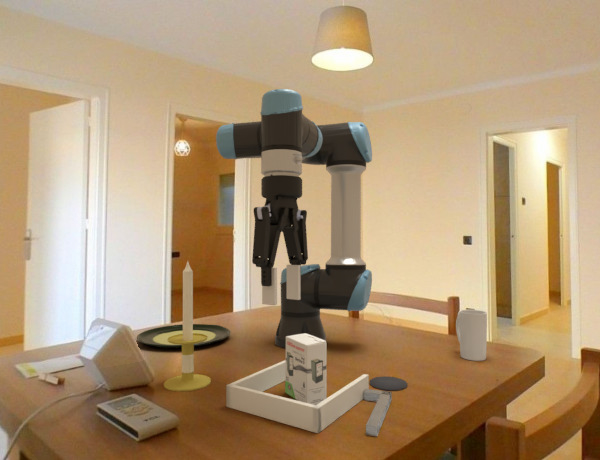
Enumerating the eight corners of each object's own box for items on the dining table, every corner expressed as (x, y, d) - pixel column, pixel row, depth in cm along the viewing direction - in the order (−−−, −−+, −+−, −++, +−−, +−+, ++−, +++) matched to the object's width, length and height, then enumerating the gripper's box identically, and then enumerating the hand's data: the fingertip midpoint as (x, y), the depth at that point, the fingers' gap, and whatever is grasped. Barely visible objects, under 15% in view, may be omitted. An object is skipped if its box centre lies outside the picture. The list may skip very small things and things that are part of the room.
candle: (188, 372, 100) (188, 257, 100) (220, 380, 95) (220, 258, 95) (153, 385, 92) (153, 259, 92) (187, 394, 86) (187, 261, 87)
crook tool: (346, 433, 70) (346, 422, 70) (366, 397, 85) (366, 388, 85) (377, 437, 68) (377, 426, 68) (391, 401, 83) (391, 391, 83)
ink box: (284, 393, 87) (284, 335, 87) (304, 388, 90) (304, 332, 90) (306, 407, 80) (306, 344, 80) (328, 402, 83) (328, 340, 83)
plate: (181, 327, 150) (181, 320, 150) (248, 336, 138) (248, 328, 138) (115, 346, 125) (115, 337, 125) (189, 359, 113) (189, 349, 113)
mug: (493, 360, 110) (492, 313, 110) (471, 362, 108) (470, 314, 108) (467, 350, 119) (466, 307, 120) (446, 352, 117) (446, 308, 118)
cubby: (226, 406, 80) (226, 385, 80) (287, 376, 97) (287, 359, 97) (317, 433, 69) (317, 408, 69) (368, 394, 86) (368, 374, 86)
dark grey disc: (363, 385, 91) (363, 384, 91) (378, 375, 98) (378, 374, 98) (399, 393, 87) (399, 392, 87) (412, 382, 93) (412, 380, 93)
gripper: (265, 167, 68) (265, 311, 68) (326, 180, 85) (326, 296, 85) (229, 171, 73) (229, 307, 72) (294, 183, 89) (295, 293, 89)
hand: (282, 301), depth 78 cm, fingers open, 7 cm apart
